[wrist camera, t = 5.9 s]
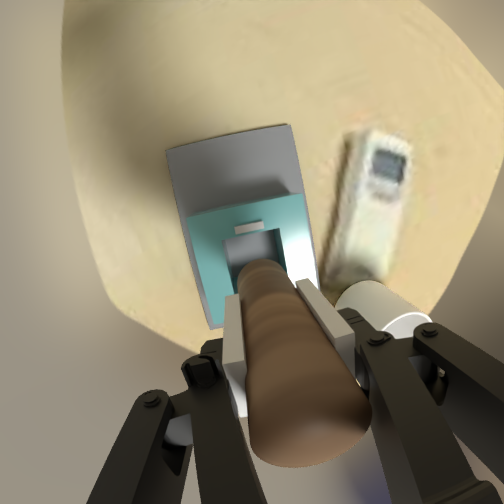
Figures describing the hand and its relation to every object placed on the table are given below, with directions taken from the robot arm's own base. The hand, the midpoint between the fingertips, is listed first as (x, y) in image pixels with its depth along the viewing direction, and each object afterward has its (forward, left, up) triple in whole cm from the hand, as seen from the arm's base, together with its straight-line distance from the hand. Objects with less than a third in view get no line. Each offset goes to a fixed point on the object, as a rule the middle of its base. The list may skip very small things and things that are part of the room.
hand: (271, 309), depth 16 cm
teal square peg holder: (0, 0, -14) cm, 14 cm away
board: (-2, 0, -15) cm, 15 cm away
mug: (+11, +10, -16) cm, 21 cm away
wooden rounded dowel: (0, 0, -5) cm, 5 cm away
